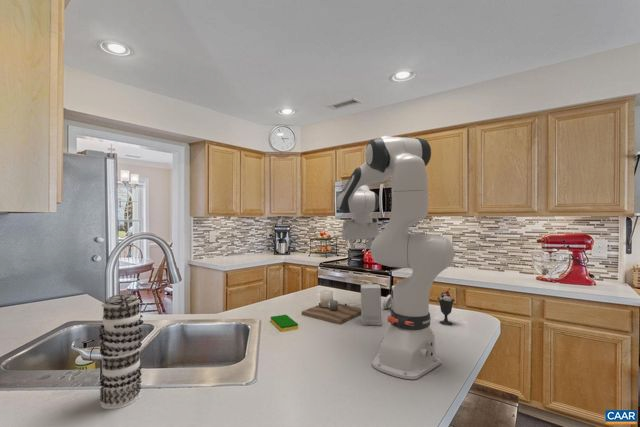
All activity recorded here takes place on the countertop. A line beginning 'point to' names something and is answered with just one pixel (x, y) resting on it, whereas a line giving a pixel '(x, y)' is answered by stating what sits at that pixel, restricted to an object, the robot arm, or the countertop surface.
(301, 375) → the countertop surface
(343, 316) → the wooden cutting board
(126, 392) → the decorative candle
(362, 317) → the skincare box
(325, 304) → the lever
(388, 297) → the spread jar
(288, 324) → the dish sponge
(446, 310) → the sundae
